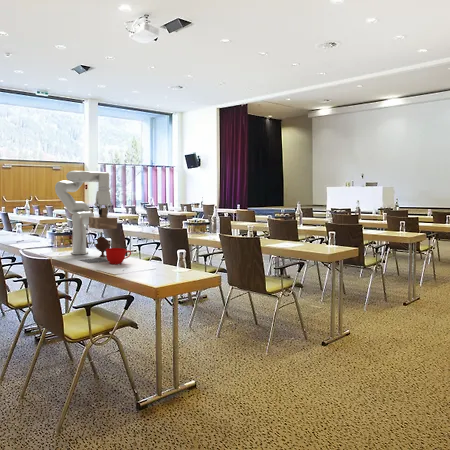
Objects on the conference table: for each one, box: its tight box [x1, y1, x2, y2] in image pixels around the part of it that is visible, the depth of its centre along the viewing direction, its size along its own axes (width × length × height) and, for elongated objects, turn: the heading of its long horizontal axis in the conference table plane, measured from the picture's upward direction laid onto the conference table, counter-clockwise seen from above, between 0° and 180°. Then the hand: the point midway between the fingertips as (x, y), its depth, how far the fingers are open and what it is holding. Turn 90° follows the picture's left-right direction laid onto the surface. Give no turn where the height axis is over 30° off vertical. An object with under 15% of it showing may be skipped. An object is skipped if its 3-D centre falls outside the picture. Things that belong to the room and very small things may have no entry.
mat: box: [78, 257, 109, 264], centre depth 321 cm, size 17×17×1 cm
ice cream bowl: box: [94, 236, 111, 258], centre depth 340 cm, size 11×11×15 cm
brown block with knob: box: [88, 207, 118, 230], centre depth 338 cm, size 15×15×15 cm
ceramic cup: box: [105, 247, 132, 265], centre depth 312 cm, size 13×17×10 cm
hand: (103, 214), depth 338 cm, fingers closed on brown block with knob, 4 cm apart
